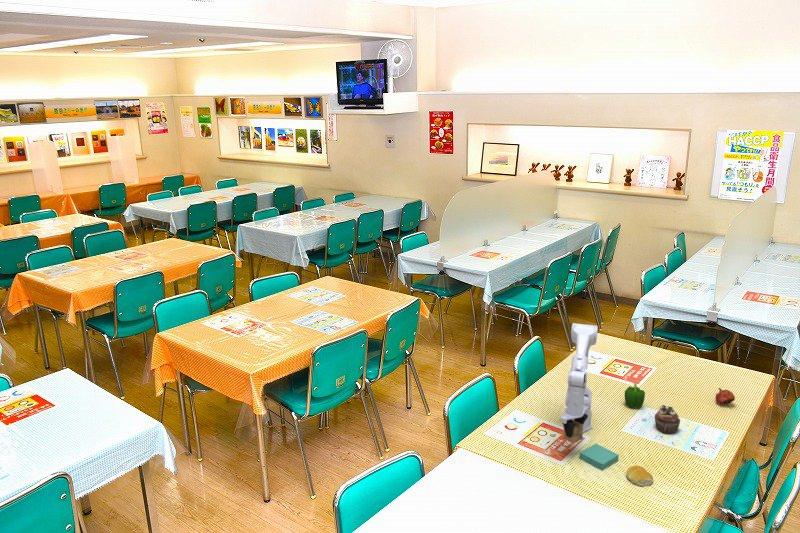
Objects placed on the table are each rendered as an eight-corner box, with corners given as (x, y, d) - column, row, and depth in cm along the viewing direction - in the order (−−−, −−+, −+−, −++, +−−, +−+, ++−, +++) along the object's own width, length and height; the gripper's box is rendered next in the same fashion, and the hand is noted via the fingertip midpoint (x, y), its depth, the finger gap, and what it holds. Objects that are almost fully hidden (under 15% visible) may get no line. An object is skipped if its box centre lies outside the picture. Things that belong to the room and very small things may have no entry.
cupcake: (681, 436, 244) (684, 414, 241) (655, 434, 246) (658, 411, 243) (676, 424, 253) (678, 402, 250) (651, 422, 255) (653, 400, 252)
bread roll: (641, 470, 223) (642, 460, 222) (656, 485, 214) (657, 475, 213) (620, 473, 221) (621, 463, 220) (635, 488, 212) (636, 478, 211)
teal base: (595, 450, 236) (595, 443, 235) (618, 461, 228) (618, 454, 227) (579, 459, 230) (579, 452, 229) (602, 471, 222) (602, 464, 222)
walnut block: (570, 433, 235) (571, 419, 233) (582, 438, 231) (583, 424, 229) (563, 438, 232) (563, 423, 230) (574, 443, 228) (575, 429, 226)
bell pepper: (640, 412, 262) (642, 391, 260) (621, 407, 267) (623, 386, 265) (646, 405, 269) (648, 384, 266) (627, 399, 274) (629, 379, 271)
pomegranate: (735, 411, 268) (726, 390, 274) (742, 404, 262) (732, 383, 268) (719, 413, 268) (709, 392, 274) (725, 406, 262) (715, 385, 268)
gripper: (578, 391, 234) (575, 423, 238) (554, 403, 226) (552, 436, 229) (594, 398, 229) (591, 430, 233) (570, 410, 220) (568, 444, 224)
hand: (573, 433), depth 231 cm, fingers closed on walnut block, 5 cm apart
